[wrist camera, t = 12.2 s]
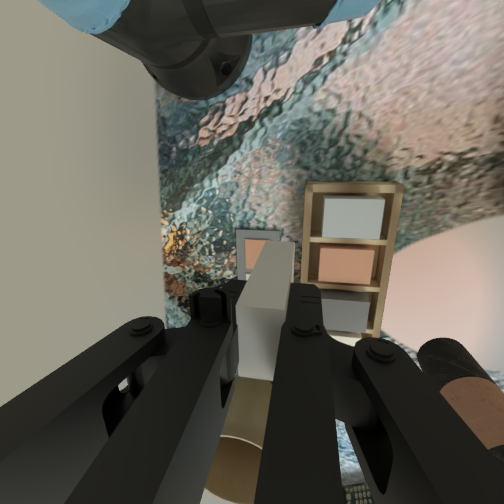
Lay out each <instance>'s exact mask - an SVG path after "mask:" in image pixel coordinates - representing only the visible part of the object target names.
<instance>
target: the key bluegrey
mask: <svg viewBox="0 0 504 504" xmlns="http://www.w3.org/2000/svg"><path fill="white" fill-rule="evenodd" d="M384 204H385V199H384V198H382V197H380V196H357V195H324V199H323V213H322V227H321V233H322V237H328V238H354V239H379V238H380V232H381V225H382V218H383V211H384Z"/></svg>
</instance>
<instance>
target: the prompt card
mask: <svg viewBox="0 0 504 504" xmlns="http://www.w3.org/2000/svg"><path fill="white" fill-rule="evenodd" d="M266 241H280V231H274V230H246V229H236V249H237V277H238V280H248V278H249V276H250V274H251V272H252V270H253V267H254V265H255V263H256V261H257V259H258V257H259V255H260V252H261V250H262V248H263V246H264V244H265V242H266Z"/></svg>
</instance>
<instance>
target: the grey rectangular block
mask: <svg viewBox="0 0 504 504" xmlns="http://www.w3.org/2000/svg"><path fill="white" fill-rule="evenodd" d="M320 290H321V300H322V312H323V323H324V326H325V329H327V330H337V331H348V332H358V333H366V327H367V320H368V314H369V307H370V301H369V298H368V296H367V293H366V292H357V291H343V290H329V289H320Z"/></svg>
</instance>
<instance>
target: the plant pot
mask: <svg viewBox="0 0 504 504" xmlns="http://www.w3.org/2000/svg"><path fill="white" fill-rule="evenodd" d="M271 390H272V384H271V382H270V380H263V379H255V378H248V377H240V376H239V377H238V378H237V379H236V380H235V389H234V393H233V396H232V399H231V403H230V406H229V409H228V412H227V416H226V419H225V422H224V425H223V429H222V432H221V435H220V439H219V442H218V445H217V448H216V452H215V455H214V458H213V462H212V465H211V468H210V471H209V475H208V478H207V481H206V484H205V488H204V489H205V490H206V491H207V492H209V493H210V494H212V495H214V496H215V497H217V498H219V499H222V500H224V501H227V502H230V503H233V504H254V498H255V492H256V486H257V479H258V473H259V467H260V460H261V454H262V447H263V441H264V435H265V428H266V422H267V416H268V409H269V403H270V397H271Z"/></svg>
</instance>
